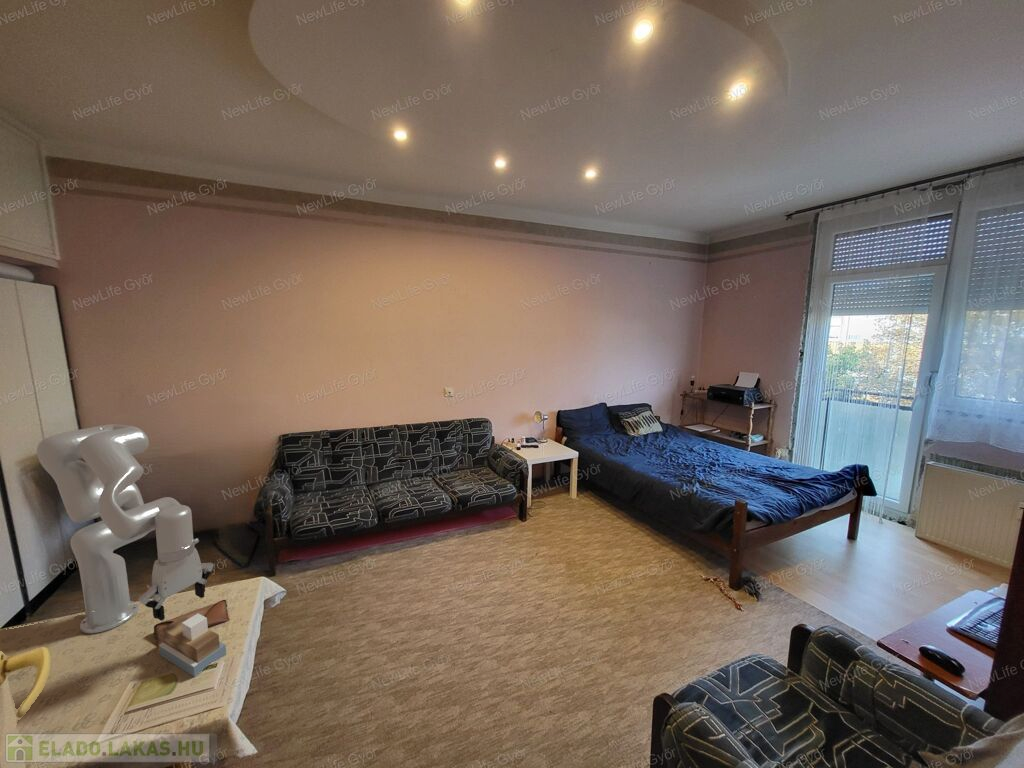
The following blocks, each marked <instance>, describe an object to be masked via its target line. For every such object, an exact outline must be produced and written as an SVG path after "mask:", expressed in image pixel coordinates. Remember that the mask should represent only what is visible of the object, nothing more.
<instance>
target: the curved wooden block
mask: <svg viewBox="0 0 1024 768" xmlns="http://www.w3.org/2000/svg"><path fill="white" fill-rule="evenodd" d="M187 619H189V618H187V617H185V616H183V617H181V618H180V619H178V620H176V621H175V622H173V623H171V624H169V625H168V626H166V627H164V628H163V629H162V638H163V642H164V643H166V644H168V645H169V646H171V647H173V648H175V649H176V650H178V651H180V652H181V653H183V654H185V655H186V656H188V657H190V658H191V659H193V660H195V661H196V662H199V661H201V660H202V659H204V658H205V657H207V656H208V655H209V654H211V653H212V652H214V651H215V650H217V649H218V648H219V647H220V644H219V642H220V635H219V634H218V633H216V632H214V631H213V630H211V629H210V628H208V631H206V632H205V633H203V634H202V635H200V636H199V637H197V638H195V639H194V640H192V641H191V640H190V639H188V638H186V637H185V636H183V629H182V622H184V621H186V620H187Z"/></svg>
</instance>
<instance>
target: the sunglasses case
mask: <svg viewBox="0 0 1024 768" xmlns="http://www.w3.org/2000/svg"><path fill="white" fill-rule="evenodd" d="M227 607H228V604H227V600H226V599H222V600H219V601H218V602H214V603H212V604H210V605H207V606H204V607H201V608H198V609H195V610H192V611H189V612H186V613H183V614H182V615H179V616H176V617H173V618H170V619H168V620H165V621H161V622H159V623H156V624H154V626H153V635H154V638H155V645H156V649H157V650H159V644H161V643H164V642H163V638H162V629H163V628H164V627H166V626H168V625H169V624H171V623H173V622H175V621H176V620H178V619H180V618H181V617H183V616H185V617H187V618H191V617H193V616H194V615H196V614H198V613H199V614H200V615H202V616H204V617H206V618H207V625H208V629H211V628H212V627H215V626H219V625H222V624H225V623H226V622H229V621H231V618H230V617H229V611H228V609H227Z"/></svg>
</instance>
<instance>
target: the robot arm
mask: <svg viewBox="0 0 1024 768" xmlns="http://www.w3.org/2000/svg"><path fill="white" fill-rule="evenodd" d="M149 443H150V441H149V437H148V435H147V434H146V433H145V431H143V430H142V429H140V428H139V427H137V426H134V425H126V424H118V423H112V424H111V423H110V424H109V423H108V424H105V425H103V424H102V425H98V426H93V427H87V428H81V429H75V430H69V431H66V432H61V433H57V434H53V435H50V436H47V437H45V438H43V439H42V440H41V441H40V442H39V443H38V444H37V447H36V456H37V457H38V461H39V463H40V465H41V466H42V468H43V469H44V470H45V471H46V472H47V474H49V475H50V476H51V478H52V479H53V480H54V482H55V484H56V485H57V490H58V491H59V494H60V498H61V500H62V504H63V506H64V509H65V510H66V513H67V515H68V517H69V518H70V520H72V521H73V522H75V523H83V522H88V521H91V520H94V519H97V518H101V520H100V521H98V522H94V523H92V524H89V525H87V526H85V527H83V528H80V529H79V530H78V531H76V532H75V533H74V534H73V535H72V536H71V538H70V548H71V550H72V553H73V555H74V557H75V560H76V562H77V565H78V570H79V575H80V577H79V578H80V582H81V589H82V594H83V595H82V596H83V601H84V602H83V603H84V608H85V615H86V616H85V617H84V618H83V619H82V620H81V622H80V625H79V628H80V632H82V633H84V634H99V633H102V632H103V633H104V632H107V631H109V630H112V629H114V628H117V627H118V626H120V625H123V624H125V623H126V622H128V621H129V620H130V619H131V618H133V617H134V616H135V614H137V612H138V610H139V609H138V608H139V607H138V603H137V602H135V601H132V600H130V599H131V597H130V590H129V583H128V581H129V580H128V574H127V567H126V566H127V565H126V561H125V558H124V557H123V556H121V555H119V554H118V553H114V551H115V550H117V549H119V548H121V547H123V546H126V545H128V544H130V543H133V542H136V541H137V540H140V539H142V538H144V537H146V535H148V534H149V533H151V532H153V531H155V537H156V549H157V559H156V560H154V562H153V566H152V573H151V587H149V589H147V590H146V592H144V593H143V594H142V595H141V596H139V598H138V601H139V602H140V603H141V604H142V605H144V606H145V607H146V608H152V615H153V618H154V619H158V620H159V621H161V622H163V621H164V620H165V618H166V617H165V607H164V605H163V604H164V602H165V601H166V599H167V598H169V597H172V596H173V595H175V594H177V593H179V592H181V591H183V590H185V589H187V588H188V587H190V586H193V585H194V594H195V596H196V597H198V598H200V599H203V598H205V592H206V584H207V582H208V579H209V577H210V576H211V574H212V570H213V568H214V566H215V564H214V563H212V562H201V561H202V560H201V558H200V554H199V553H198V550H197V548H196V547H195V545H196V544H198V543H199V542H200V540H199V538H198V537H196V538H194V531H193V528H194V527H193V516H192V515H193V514H192V509H191V508H190V507H189V506H187V505H184V504H181V503H180V502H179V501H178V500H176V499H175V498H173V497H170V496H168V497H167V496H164V497H162V498H158V499H156V500H153V501H150V502H147V503H144V499H143V496H142V493H141V491H140V489H139V487H138V485H137V484H136V482H137V481H138V480H140V478H141V477H142V475H143V474H144V468H143V466H142V465H141V464H140V463H139V462H138V460H137V459H136V458H135V457H134V455H138V454H141V453H144V452H145V451H146V450H147V449H148V447H149V445H150V444H149ZM82 459H83V460H82ZM153 595H154V596H153ZM152 596H153V598H152V599H150V598H151V597H152ZM132 603H137V604H133V605H128V604H132ZM92 611H95V612H92Z"/></svg>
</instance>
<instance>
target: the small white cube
mask: <svg viewBox="0 0 1024 768" xmlns="http://www.w3.org/2000/svg"><path fill="white" fill-rule="evenodd" d="M182 629H183V636H185V637H186V638H188V639H190V640H191V641H192V640H194V639H195V638H197V637H199V636H200V635H202V634H203V633H205V632H206V631H208V629H209V628H208V625H207V618H206V617H204V616H202V615H200V614H199V613H198V614H196V615H194V616H193V617H191V618H189V619H187V620H186V621H184V622H182Z"/></svg>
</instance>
